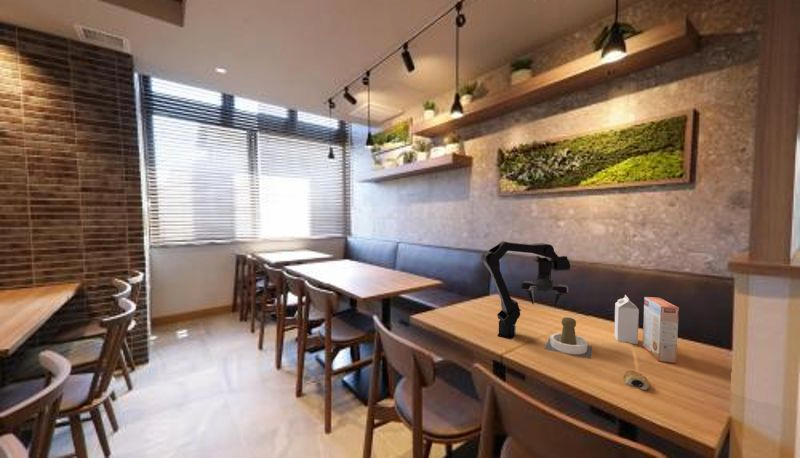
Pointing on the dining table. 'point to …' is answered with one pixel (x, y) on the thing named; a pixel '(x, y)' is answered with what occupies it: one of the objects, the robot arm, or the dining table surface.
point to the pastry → (636, 380)
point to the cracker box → (660, 329)
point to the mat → (586, 355)
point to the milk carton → (626, 321)
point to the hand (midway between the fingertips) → (544, 305)
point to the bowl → (569, 349)
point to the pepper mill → (568, 331)
